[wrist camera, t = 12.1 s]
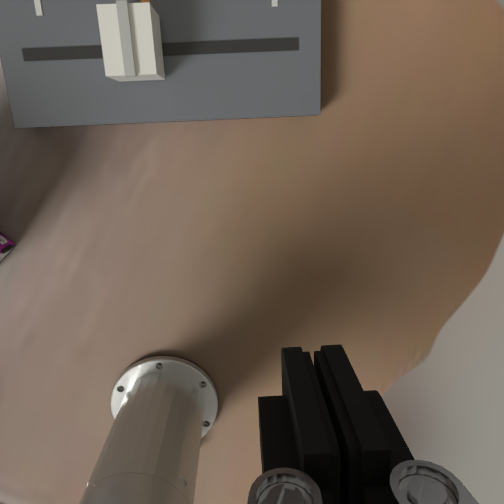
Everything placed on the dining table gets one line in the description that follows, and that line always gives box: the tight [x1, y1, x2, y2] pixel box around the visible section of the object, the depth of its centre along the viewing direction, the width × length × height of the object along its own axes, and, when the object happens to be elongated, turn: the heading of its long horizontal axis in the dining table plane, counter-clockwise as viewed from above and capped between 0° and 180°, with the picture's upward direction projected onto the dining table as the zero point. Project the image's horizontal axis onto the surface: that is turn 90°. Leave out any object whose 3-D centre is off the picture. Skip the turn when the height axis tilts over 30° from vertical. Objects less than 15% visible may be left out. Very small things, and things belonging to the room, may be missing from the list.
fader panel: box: [0, 0, 321, 128], centre depth 38 cm, size 12×28×3 cm, turn 92°
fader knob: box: [96, 0, 165, 82], centre depth 34 cm, size 5×4×4 cm
